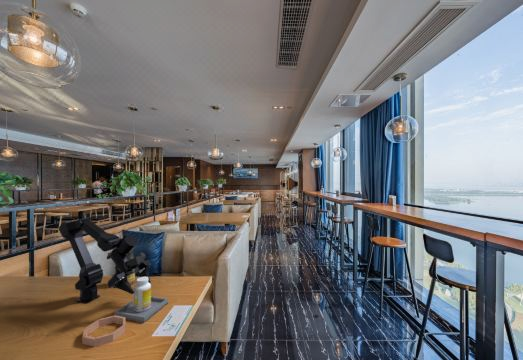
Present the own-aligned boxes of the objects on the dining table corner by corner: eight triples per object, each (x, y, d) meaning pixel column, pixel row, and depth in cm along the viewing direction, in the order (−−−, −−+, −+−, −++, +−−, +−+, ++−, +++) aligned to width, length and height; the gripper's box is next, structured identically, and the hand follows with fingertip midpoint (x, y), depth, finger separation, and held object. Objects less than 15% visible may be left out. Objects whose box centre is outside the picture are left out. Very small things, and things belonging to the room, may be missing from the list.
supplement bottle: (152, 303, 101) (153, 275, 101) (148, 312, 94) (148, 281, 94) (137, 304, 100) (137, 275, 100) (130, 313, 93) (131, 282, 93)
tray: (114, 317, 92) (114, 312, 92) (141, 298, 106) (141, 294, 106) (144, 322, 88) (144, 317, 88) (168, 303, 102) (168, 298, 102)
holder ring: (73, 342, 77) (74, 334, 77) (106, 320, 89) (107, 313, 89) (103, 348, 74) (103, 341, 74) (133, 325, 87) (133, 318, 87)
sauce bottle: (128, 286, 118) (129, 249, 118) (118, 285, 119) (119, 248, 119) (137, 281, 124) (138, 245, 124) (128, 280, 125) (128, 244, 125)
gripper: (113, 255, 90) (135, 286, 87) (148, 243, 108) (167, 268, 105) (98, 272, 92) (118, 303, 89) (134, 257, 110) (153, 283, 107)
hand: (141, 288), depth 97 cm, fingers open, 9 cm apart
